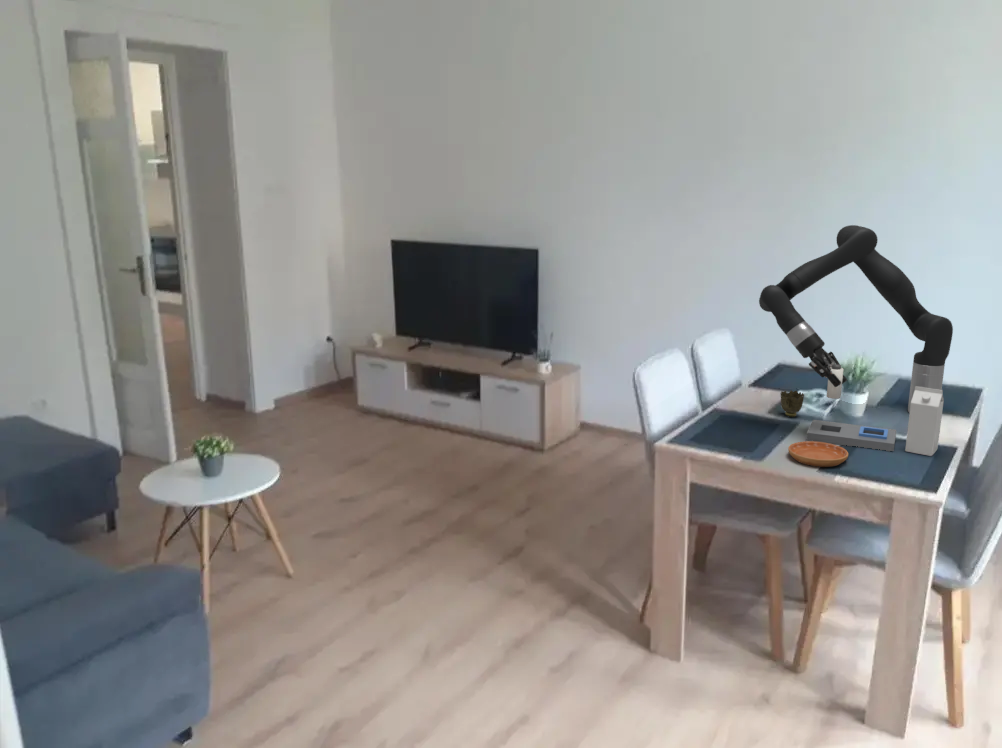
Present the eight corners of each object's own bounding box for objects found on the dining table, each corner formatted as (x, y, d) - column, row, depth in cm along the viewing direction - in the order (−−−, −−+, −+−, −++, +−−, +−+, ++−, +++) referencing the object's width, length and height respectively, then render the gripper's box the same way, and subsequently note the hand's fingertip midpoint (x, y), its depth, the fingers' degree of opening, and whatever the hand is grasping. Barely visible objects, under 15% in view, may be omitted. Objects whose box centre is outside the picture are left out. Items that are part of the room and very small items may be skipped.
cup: (783, 419, 261) (785, 396, 259) (775, 413, 268) (777, 390, 266) (806, 419, 261) (808, 396, 259) (797, 412, 268) (799, 389, 266)
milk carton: (910, 445, 236) (918, 383, 231) (937, 449, 231) (945, 387, 227) (904, 451, 231) (912, 389, 226) (931, 456, 226) (940, 393, 221)
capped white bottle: (827, 394, 244) (830, 363, 242) (841, 395, 242) (844, 364, 240) (825, 397, 241) (828, 366, 238) (840, 399, 239) (843, 367, 236)
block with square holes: (812, 427, 253) (813, 417, 253) (895, 437, 242) (896, 427, 242) (806, 440, 241) (807, 430, 241) (893, 451, 230) (894, 441, 230)
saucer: (782, 449, 235) (782, 440, 234) (837, 450, 233) (838, 441, 233) (795, 469, 220) (796, 459, 219) (855, 470, 218) (856, 460, 217)
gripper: (804, 336, 237) (842, 381, 232) (823, 328, 247) (860, 372, 242) (786, 350, 241) (822, 395, 236) (805, 342, 251) (840, 385, 246)
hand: (841, 383), depth 239 cm, fingers closed on capped white bottle, 4 cm apart
